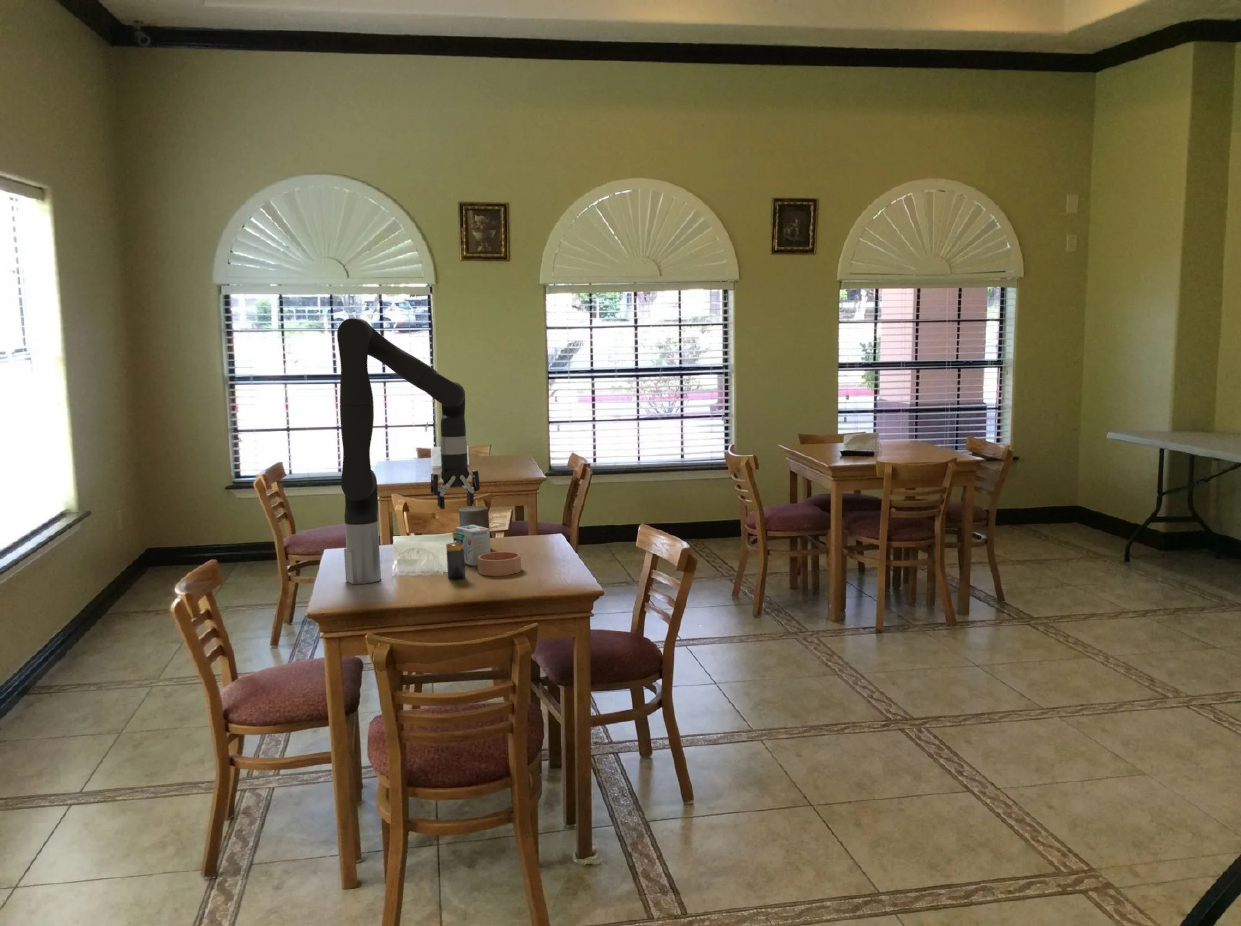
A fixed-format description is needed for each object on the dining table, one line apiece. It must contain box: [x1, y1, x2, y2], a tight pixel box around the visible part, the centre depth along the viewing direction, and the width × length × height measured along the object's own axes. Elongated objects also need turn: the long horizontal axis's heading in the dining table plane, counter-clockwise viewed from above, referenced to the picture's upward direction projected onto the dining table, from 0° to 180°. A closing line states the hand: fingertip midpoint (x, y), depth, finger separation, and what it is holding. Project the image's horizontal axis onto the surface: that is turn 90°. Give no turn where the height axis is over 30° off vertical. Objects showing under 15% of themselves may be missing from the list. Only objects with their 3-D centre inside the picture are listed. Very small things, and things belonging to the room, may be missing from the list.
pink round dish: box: [477, 551, 522, 577], centre depth 301 cm, size 13×13×4 cm
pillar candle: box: [458, 505, 490, 529], centre depth 334 cm, size 10×10×15 cm
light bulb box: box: [455, 525, 492, 567], centre depth 315 cm, size 11×7×11 cm, turn 37°
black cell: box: [445, 542, 466, 581], centre depth 293 cm, size 5×5×10 cm
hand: (456, 507), depth 293 cm, fingers open, 8 cm apart
